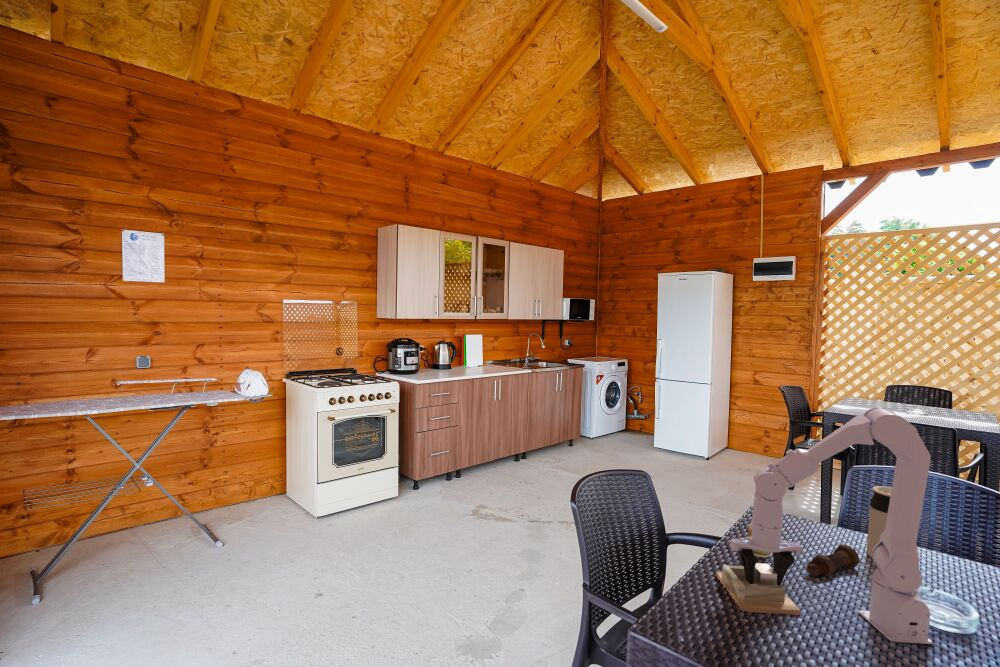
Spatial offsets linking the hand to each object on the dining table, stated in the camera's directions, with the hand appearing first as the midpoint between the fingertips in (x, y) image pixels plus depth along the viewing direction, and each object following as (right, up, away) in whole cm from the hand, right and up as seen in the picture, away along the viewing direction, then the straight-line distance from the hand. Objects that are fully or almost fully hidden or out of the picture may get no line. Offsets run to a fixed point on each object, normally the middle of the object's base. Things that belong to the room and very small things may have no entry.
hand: (763, 582), depth 112 cm
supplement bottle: (+9, -2, +20) cm, 22 cm away
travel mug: (+42, -4, +19) cm, 47 cm away
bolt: (+23, -3, +12) cm, 26 cm away
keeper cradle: (-2, -3, 0) cm, 3 cm away
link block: (0, -2, 0) cm, 2 cm away
